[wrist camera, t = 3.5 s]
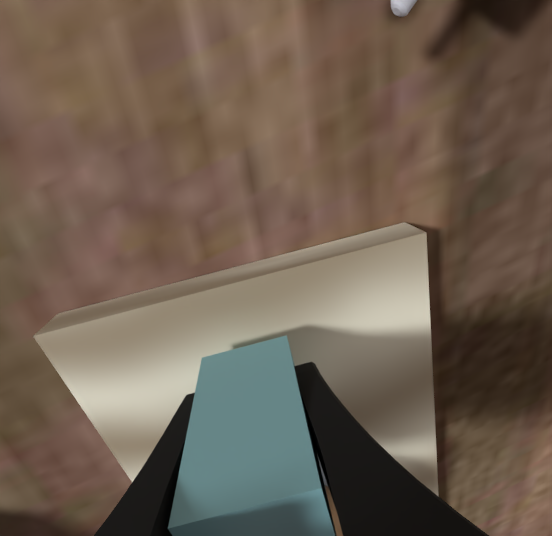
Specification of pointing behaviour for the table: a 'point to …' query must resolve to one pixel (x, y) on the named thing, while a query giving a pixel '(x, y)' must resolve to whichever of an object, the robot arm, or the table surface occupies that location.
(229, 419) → the peg
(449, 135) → the table surface
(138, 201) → the table surface
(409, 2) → the charger
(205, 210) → the table surface
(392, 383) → the board
